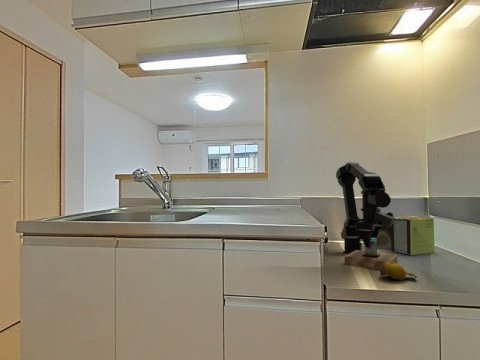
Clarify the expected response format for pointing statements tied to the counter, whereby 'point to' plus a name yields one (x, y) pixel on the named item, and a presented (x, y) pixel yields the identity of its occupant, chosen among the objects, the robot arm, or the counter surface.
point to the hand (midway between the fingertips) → (370, 245)
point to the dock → (368, 259)
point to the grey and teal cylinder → (371, 248)
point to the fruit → (394, 271)
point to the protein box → (412, 235)
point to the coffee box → (384, 237)
